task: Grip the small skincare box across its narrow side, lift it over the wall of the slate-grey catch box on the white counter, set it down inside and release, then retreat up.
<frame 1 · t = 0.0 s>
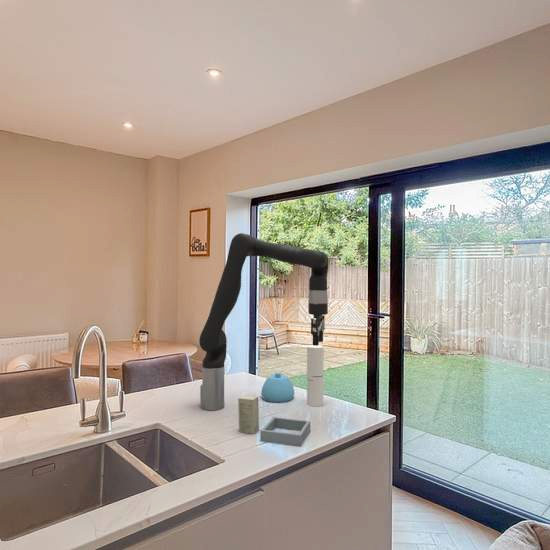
hand: (318, 343, 160), 29 cm above the worktop, fingers open, 8 cm apart
catch box: (286, 435, 143), on the worktop
sugar bowl: (277, 398, 187), on the worktop
skincare box: (248, 431, 148), on the worktop
cylindrical container: (315, 404, 179), on the worktop
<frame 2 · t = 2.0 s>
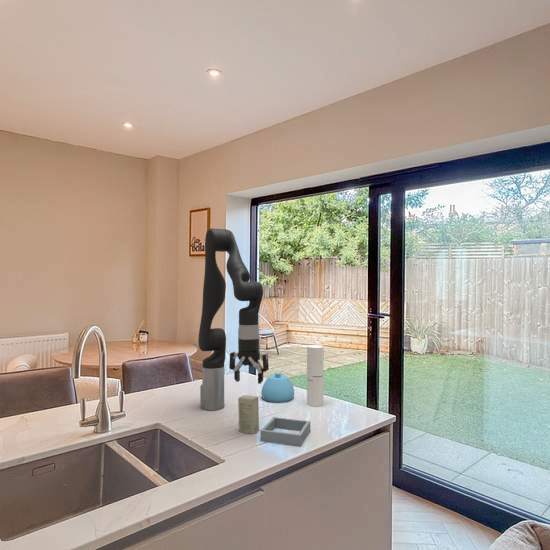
hand: (248, 382, 148), 18 cm above the worktop, fingers open, 8 cm apart
nothing on the worktop moved.
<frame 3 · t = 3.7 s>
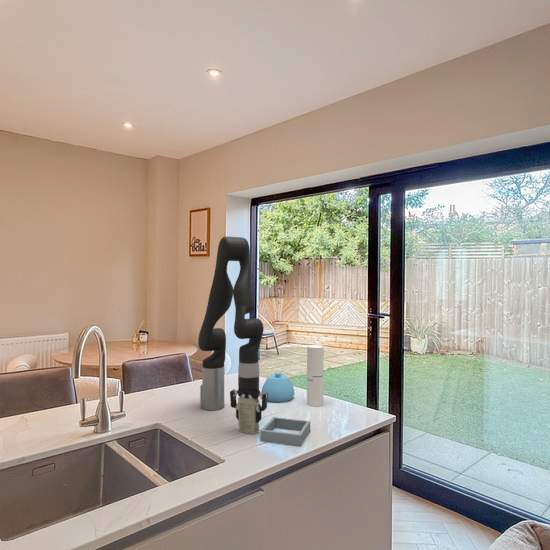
hand: (248, 420, 148), 4 cm above the worktop, fingers closed on skincare box, 6 cm apart
skincare box: (248, 431, 148), on the worktop, touching gripper
everything else where it was.
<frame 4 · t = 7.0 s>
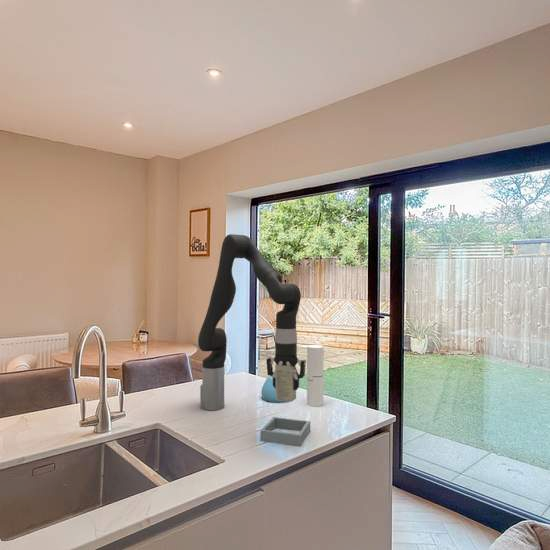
hand: (285, 388, 143), 16 cm above the worktop, fingers closed on skincare box, 6 cm apart
skincare box: (285, 400, 143), point 12 cm above the worktop, touching gripper
everything else where it was.
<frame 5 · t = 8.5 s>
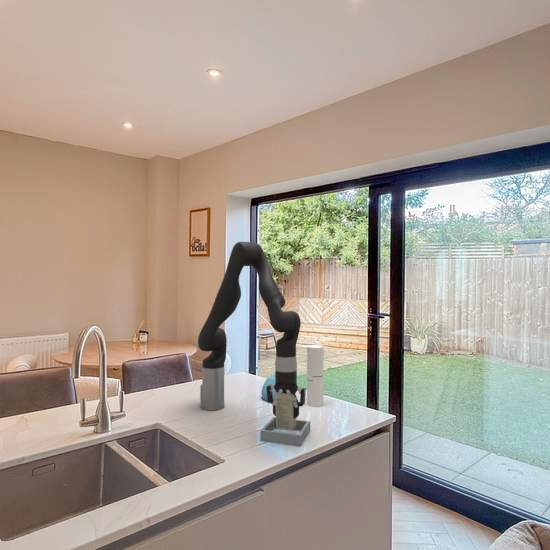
hand: (286, 416, 143), 7 cm above the worktop, fingers closed on skincare box, 6 cm apart
skincare box: (285, 427, 143), point 3 cm above the worktop, touching gripper
everything else where it was.
when the fingers open (6 cm above the worktop, at t = 9.8 s): skincare box drops 2 cm, resting in catch box.
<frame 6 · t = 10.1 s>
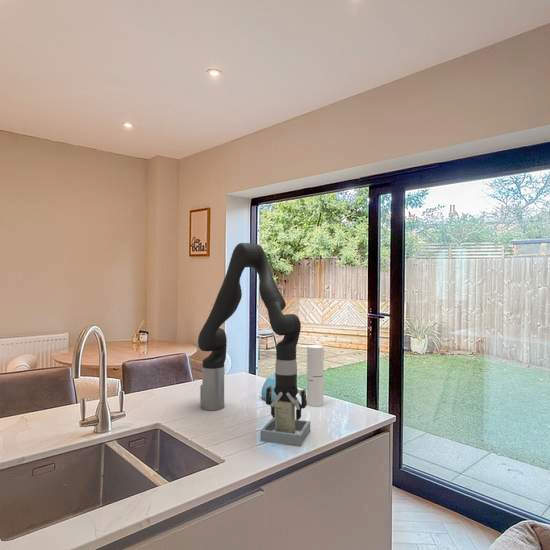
hand: (286, 418, 143), 6 cm above the worktop, fingers open, 8 cm apart
skincare box: (284, 436, 143), resting in catch box
everything else where it was.
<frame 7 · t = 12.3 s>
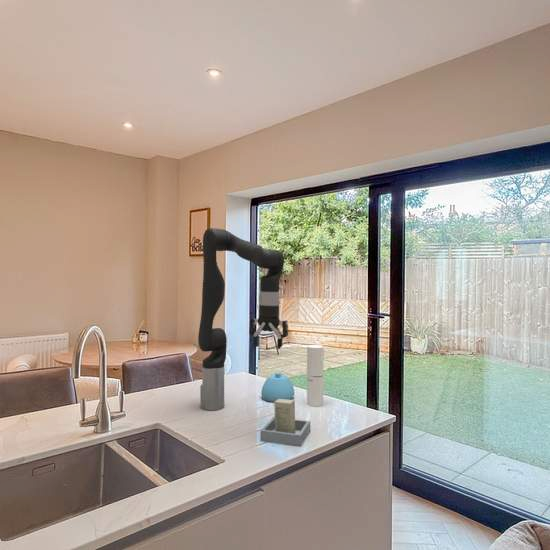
hand: (268, 347, 152), 29 cm above the worktop, fingers open, 8 cm apart
nothing on the worktop moved.
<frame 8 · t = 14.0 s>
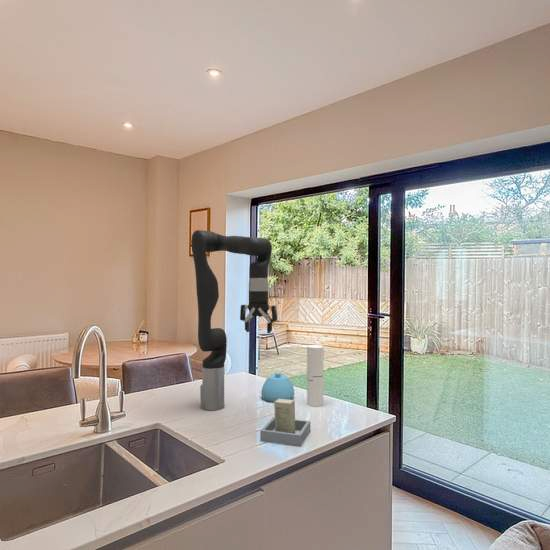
hand: (258, 332, 157), 34 cm above the worktop, fingers open, 8 cm apart
nothing on the worktop moved.
at the end: skincare box inside the target area on the catch box (0.4 cm from its centre), point 0.0 cm above the catch box's base; the gripper is holding nothing; skincare box moved 13.6 cm from its start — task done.
